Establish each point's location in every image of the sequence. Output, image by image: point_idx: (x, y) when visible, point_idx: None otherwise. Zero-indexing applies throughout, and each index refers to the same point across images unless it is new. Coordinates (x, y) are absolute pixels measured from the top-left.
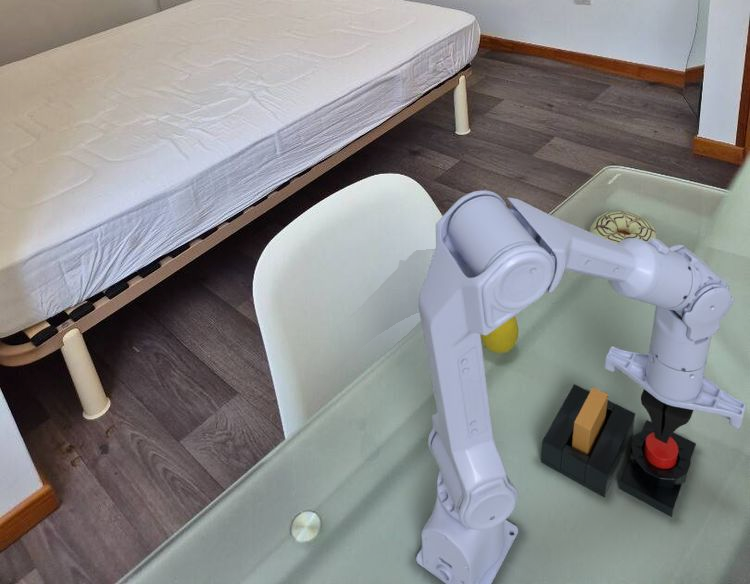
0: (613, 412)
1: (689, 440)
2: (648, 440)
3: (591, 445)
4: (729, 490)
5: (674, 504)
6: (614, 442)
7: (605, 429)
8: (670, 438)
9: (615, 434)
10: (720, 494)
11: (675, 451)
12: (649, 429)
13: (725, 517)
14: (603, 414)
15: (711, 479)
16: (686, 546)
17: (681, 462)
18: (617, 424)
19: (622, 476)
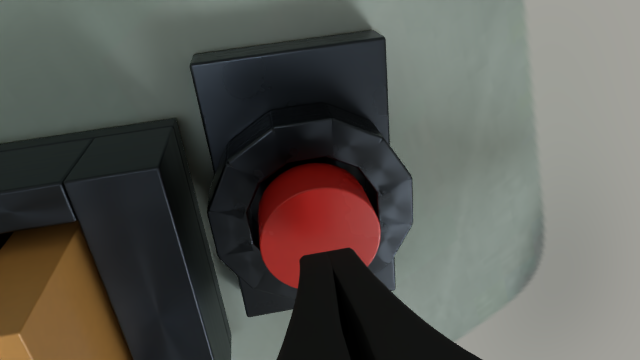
0: (87, 225)
1: (362, 43)
2: (271, 256)
3: (122, 356)
4: (499, 95)
5: (393, 274)
6: (178, 325)
7: (119, 307)
8: (336, 196)
9: (160, 297)
10: (479, 126)
11: (371, 231)
12: (236, 157)
13: (501, 179)
14: (70, 300)
15: (447, 96)
16: (435, 300)
17: (385, 202)
18: (138, 262)
19: (244, 302)
